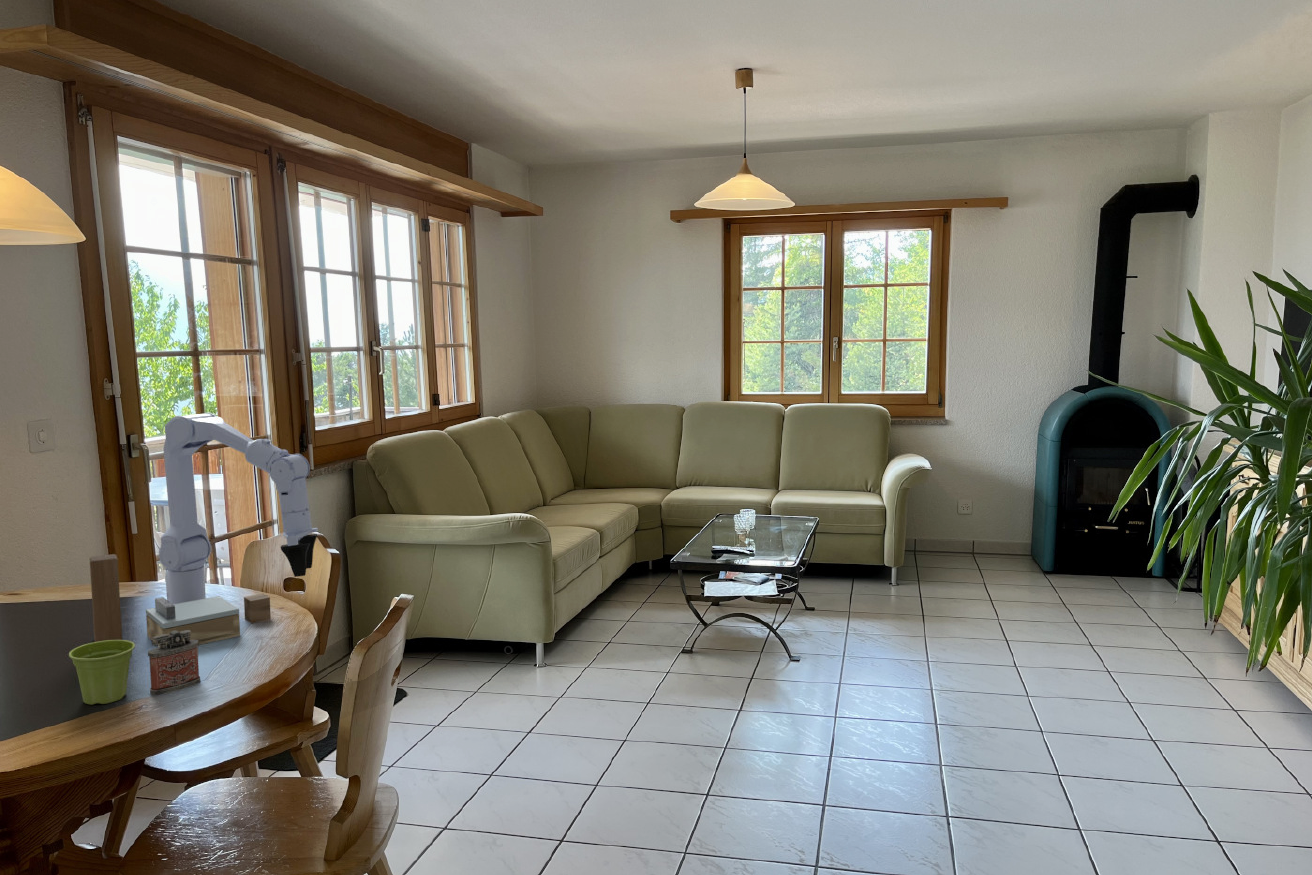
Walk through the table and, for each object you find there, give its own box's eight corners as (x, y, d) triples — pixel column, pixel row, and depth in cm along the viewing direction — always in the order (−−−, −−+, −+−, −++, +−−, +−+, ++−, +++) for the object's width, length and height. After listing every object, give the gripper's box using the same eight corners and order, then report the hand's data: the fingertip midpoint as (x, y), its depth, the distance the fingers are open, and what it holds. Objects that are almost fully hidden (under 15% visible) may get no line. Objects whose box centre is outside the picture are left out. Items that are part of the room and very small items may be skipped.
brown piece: (147, 636, 178) (146, 615, 177) (220, 621, 187) (219, 601, 187) (164, 652, 169) (163, 629, 169) (240, 635, 179) (239, 614, 178)
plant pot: (119, 683, 154) (116, 635, 153) (149, 694, 149) (146, 645, 148) (61, 701, 146) (57, 651, 145) (90, 714, 141) (87, 662, 140)
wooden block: (94, 638, 176) (88, 551, 174) (120, 634, 179) (115, 548, 177) (95, 652, 169) (89, 561, 167) (122, 647, 171) (117, 558, 169)
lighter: (195, 678, 156) (192, 624, 155) (203, 683, 154) (201, 628, 153) (146, 691, 150) (143, 635, 149) (154, 697, 148) (151, 640, 147)
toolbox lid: (146, 614, 177) (145, 597, 177) (219, 600, 187) (218, 584, 186) (163, 628, 168) (162, 611, 168) (239, 613, 178) (238, 596, 178)
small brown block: (244, 619, 189) (243, 596, 189) (263, 615, 192) (262, 593, 192) (251, 623, 186) (250, 601, 186) (270, 619, 189) (269, 597, 189)
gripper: (308, 513, 183) (317, 576, 184) (320, 503, 197) (327, 562, 198) (273, 517, 181) (281, 581, 182) (287, 507, 195) (295, 567, 196)
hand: (303, 572), depth 190 cm, fingers open, 7 cm apart
